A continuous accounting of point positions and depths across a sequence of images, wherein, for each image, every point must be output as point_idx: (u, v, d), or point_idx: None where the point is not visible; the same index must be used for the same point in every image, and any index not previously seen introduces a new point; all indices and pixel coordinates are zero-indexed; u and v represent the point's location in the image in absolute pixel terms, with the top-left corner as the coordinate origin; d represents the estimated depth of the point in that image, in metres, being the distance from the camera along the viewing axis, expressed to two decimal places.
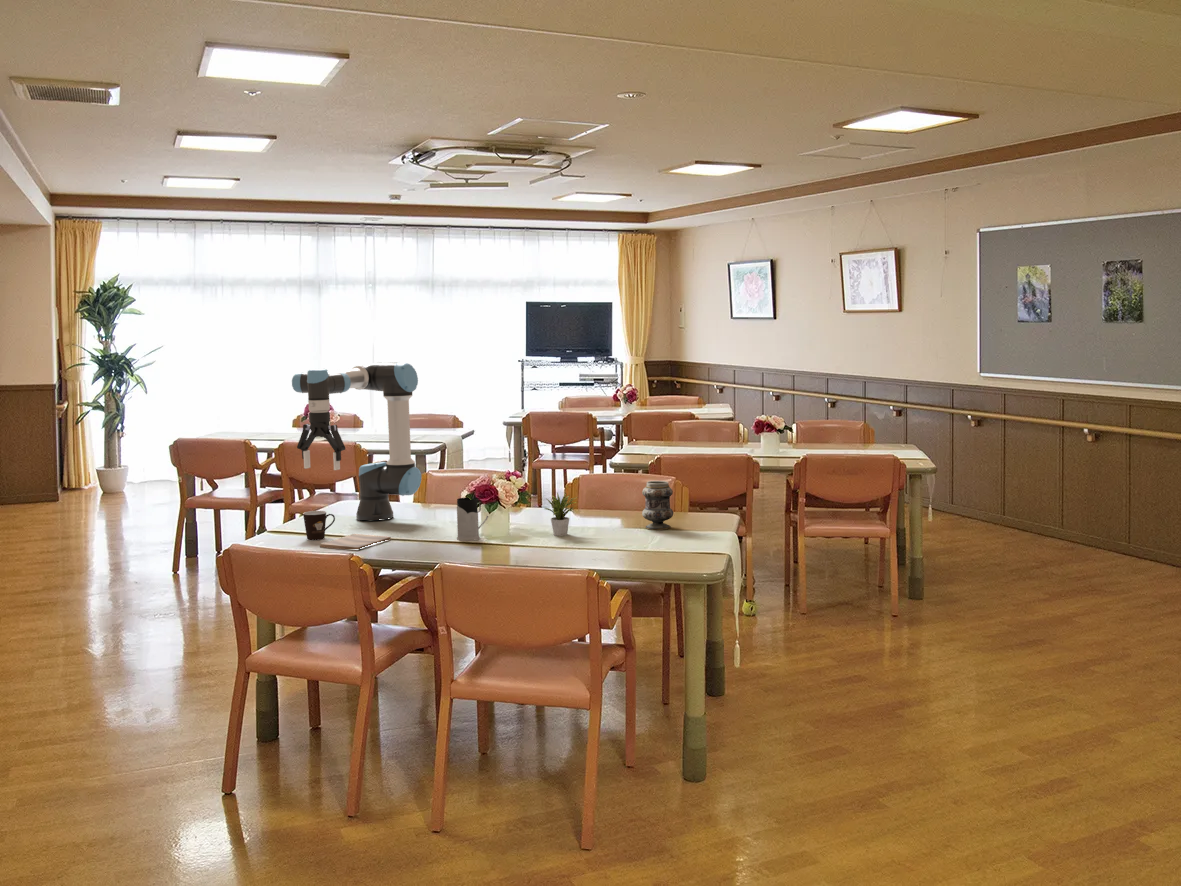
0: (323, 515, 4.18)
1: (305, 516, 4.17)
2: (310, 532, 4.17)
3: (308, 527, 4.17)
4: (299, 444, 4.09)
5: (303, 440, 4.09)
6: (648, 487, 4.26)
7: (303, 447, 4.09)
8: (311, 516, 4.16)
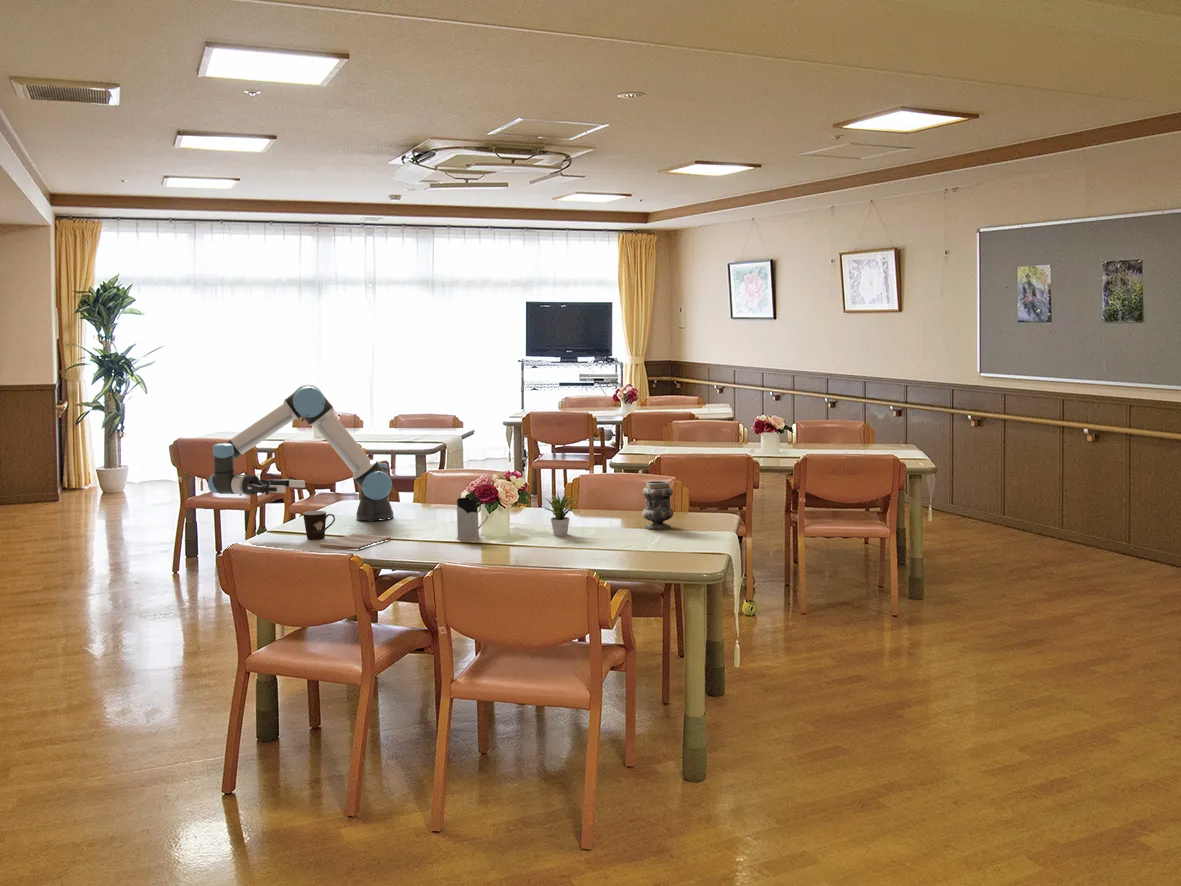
0: (323, 515, 4.18)
1: (305, 516, 4.17)
2: (310, 532, 4.17)
3: (308, 527, 4.17)
4: None
5: None
6: (648, 487, 4.26)
7: None
8: (311, 516, 4.16)
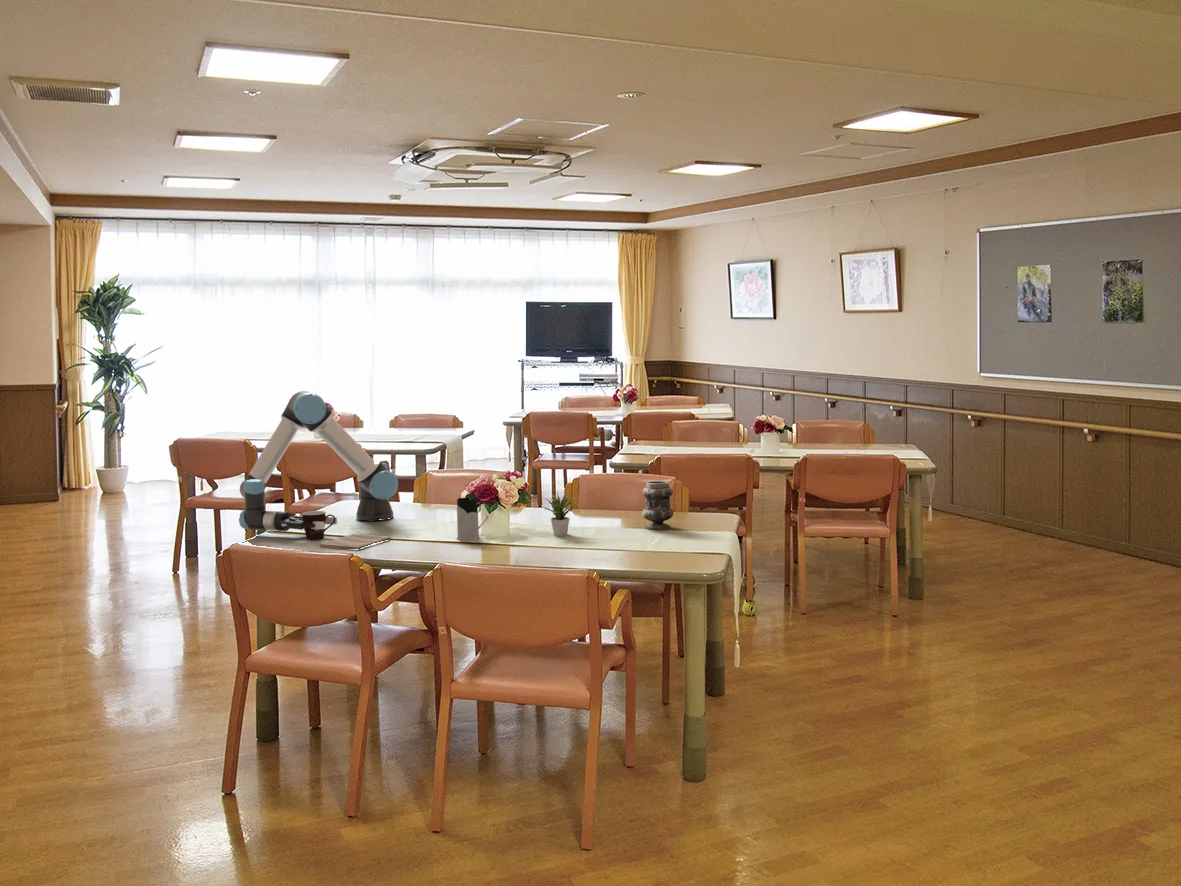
0: (321, 516, 4.17)
1: (303, 516, 4.16)
2: (308, 532, 4.17)
3: None
4: None
5: None
6: (648, 487, 4.26)
7: None
8: (309, 516, 4.15)
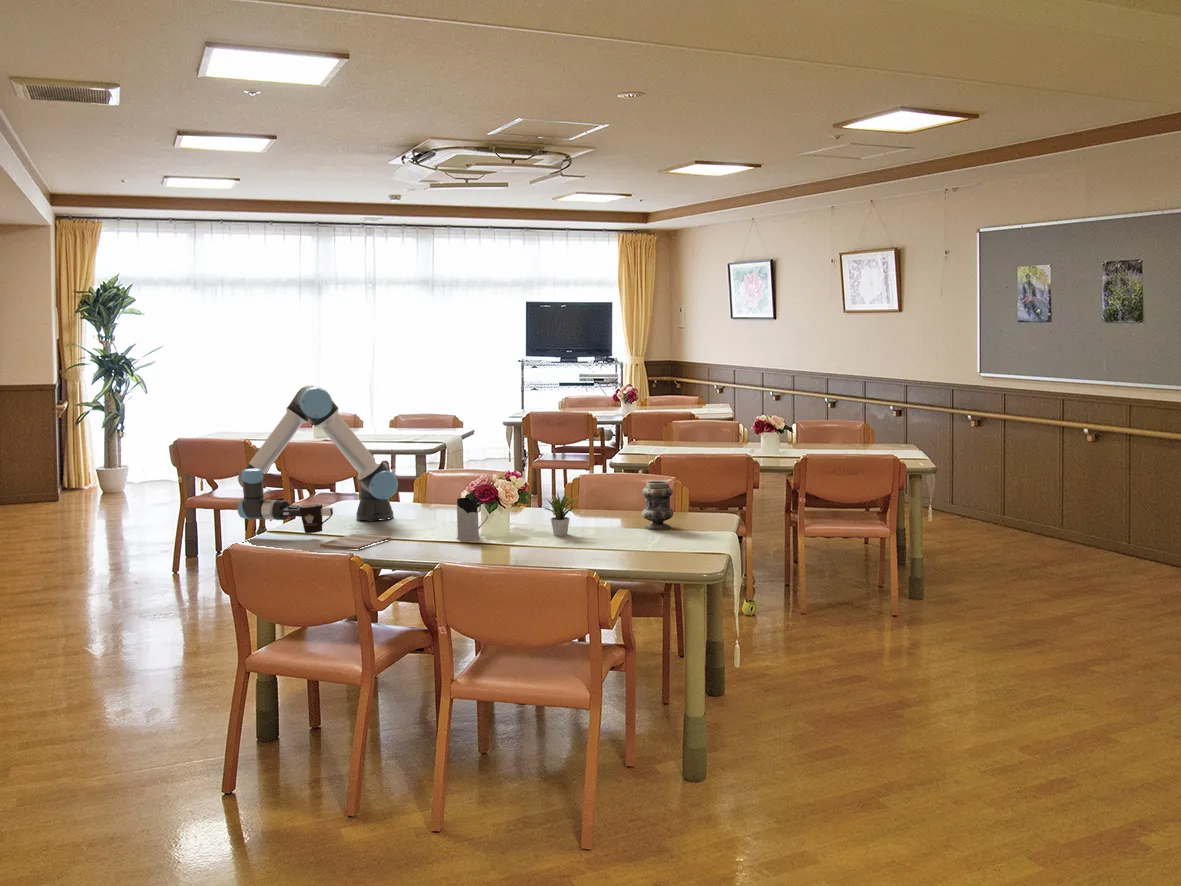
0: (313, 508, 4.15)
1: (299, 508, 4.18)
2: (303, 525, 4.17)
3: (302, 519, 4.18)
4: None
5: None
6: (648, 487, 4.26)
7: None
8: (301, 509, 4.16)
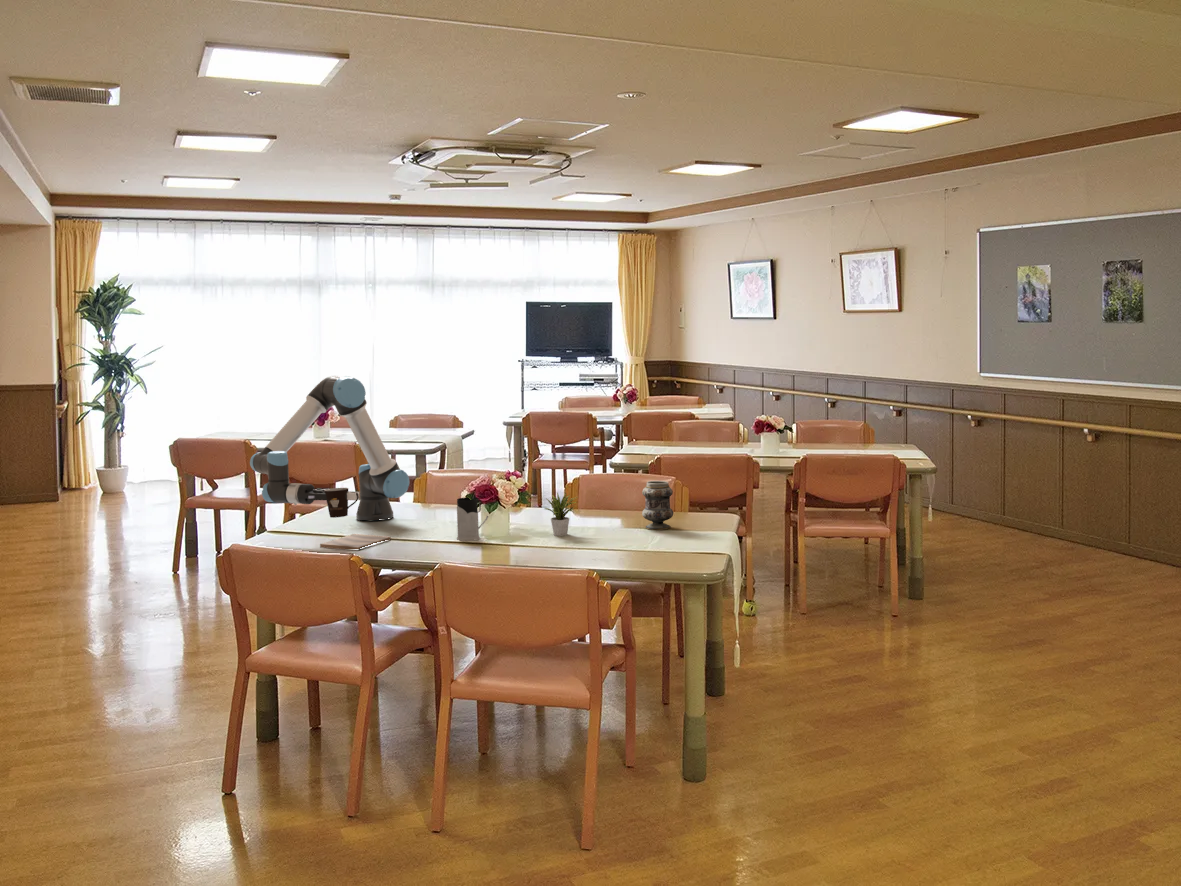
0: (338, 492, 4.05)
1: None
2: (328, 509, 4.07)
3: (327, 503, 4.07)
4: None
5: None
6: (648, 487, 4.26)
7: None
8: (326, 492, 4.05)
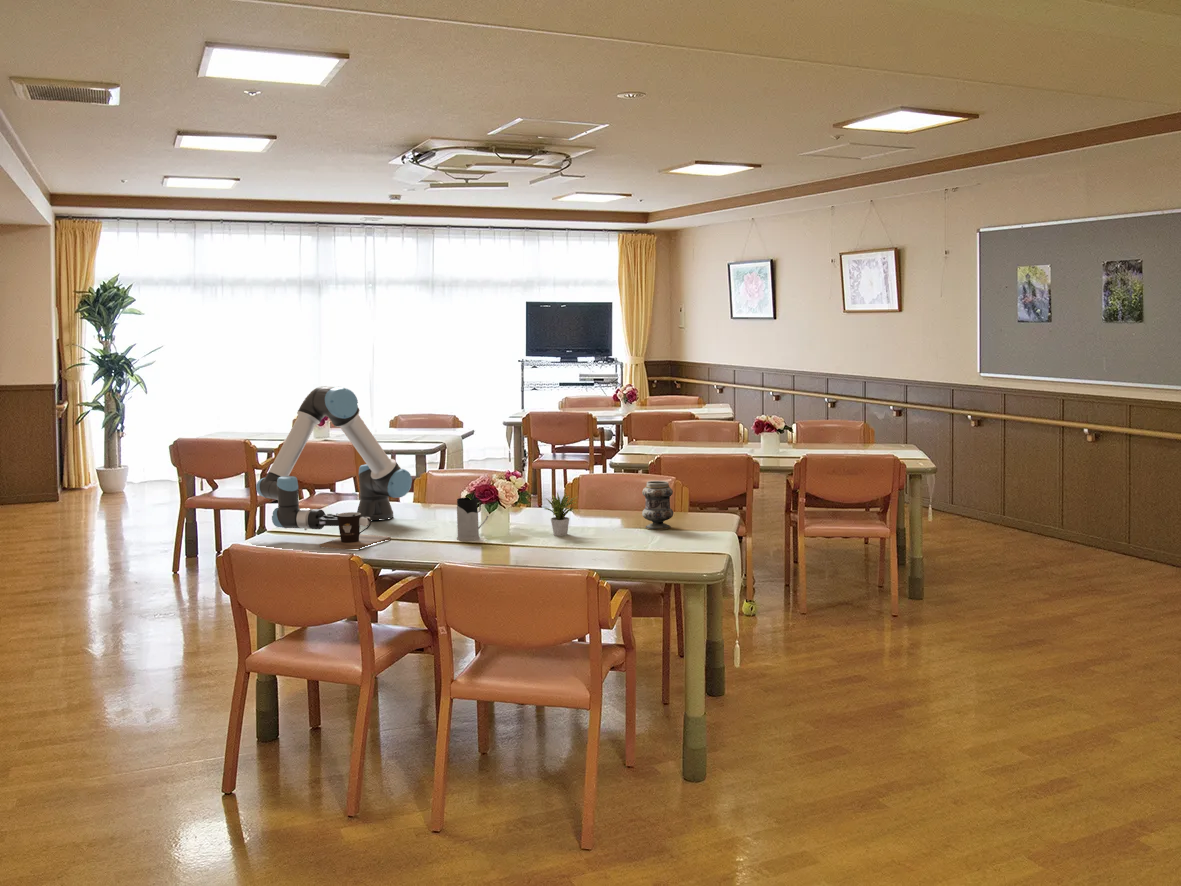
0: (351, 518, 4.04)
1: (337, 517, 4.07)
2: (340, 534, 4.07)
3: (339, 528, 4.07)
4: None
5: None
6: (648, 487, 4.26)
7: None
8: (339, 517, 4.05)
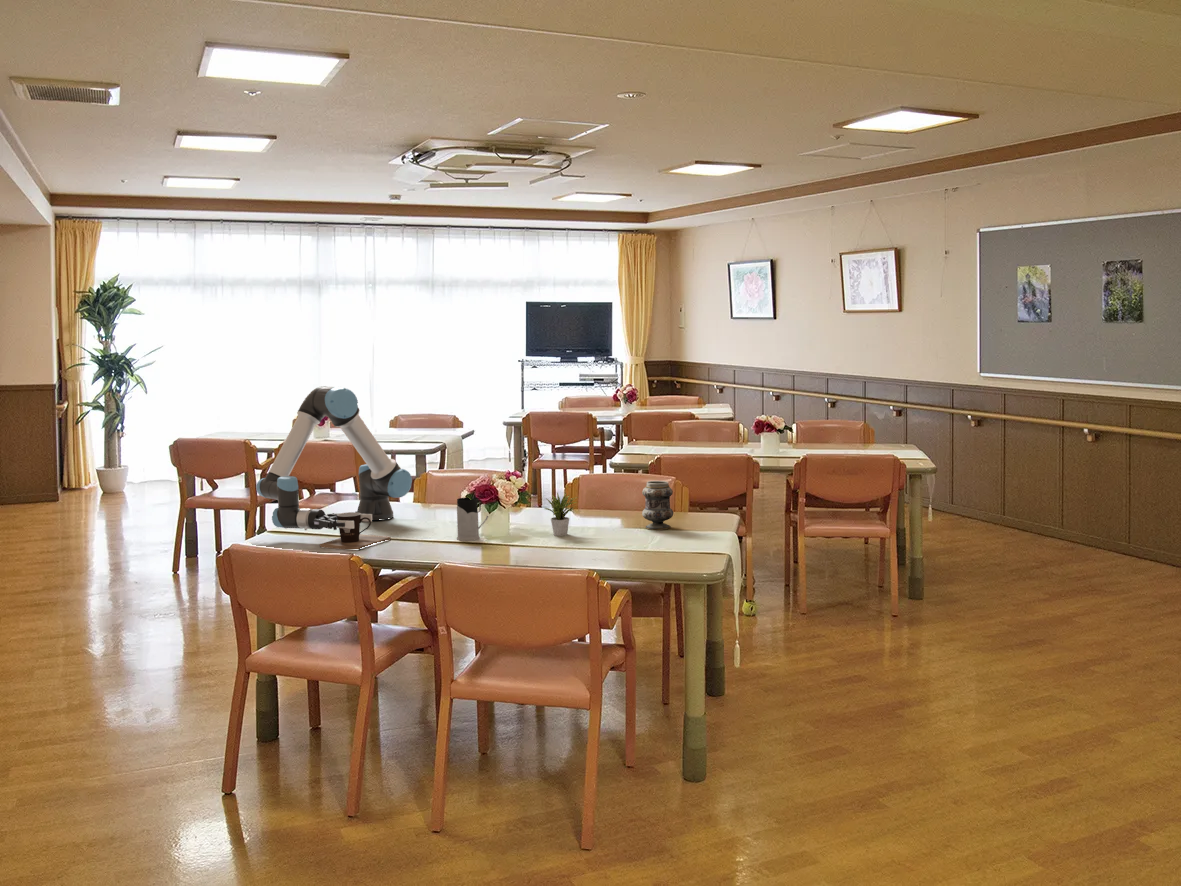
0: (351, 518, 4.04)
1: (337, 517, 4.07)
2: (340, 534, 4.07)
3: (339, 528, 4.07)
4: None
5: None
6: (648, 487, 4.26)
7: None
8: (339, 517, 4.05)
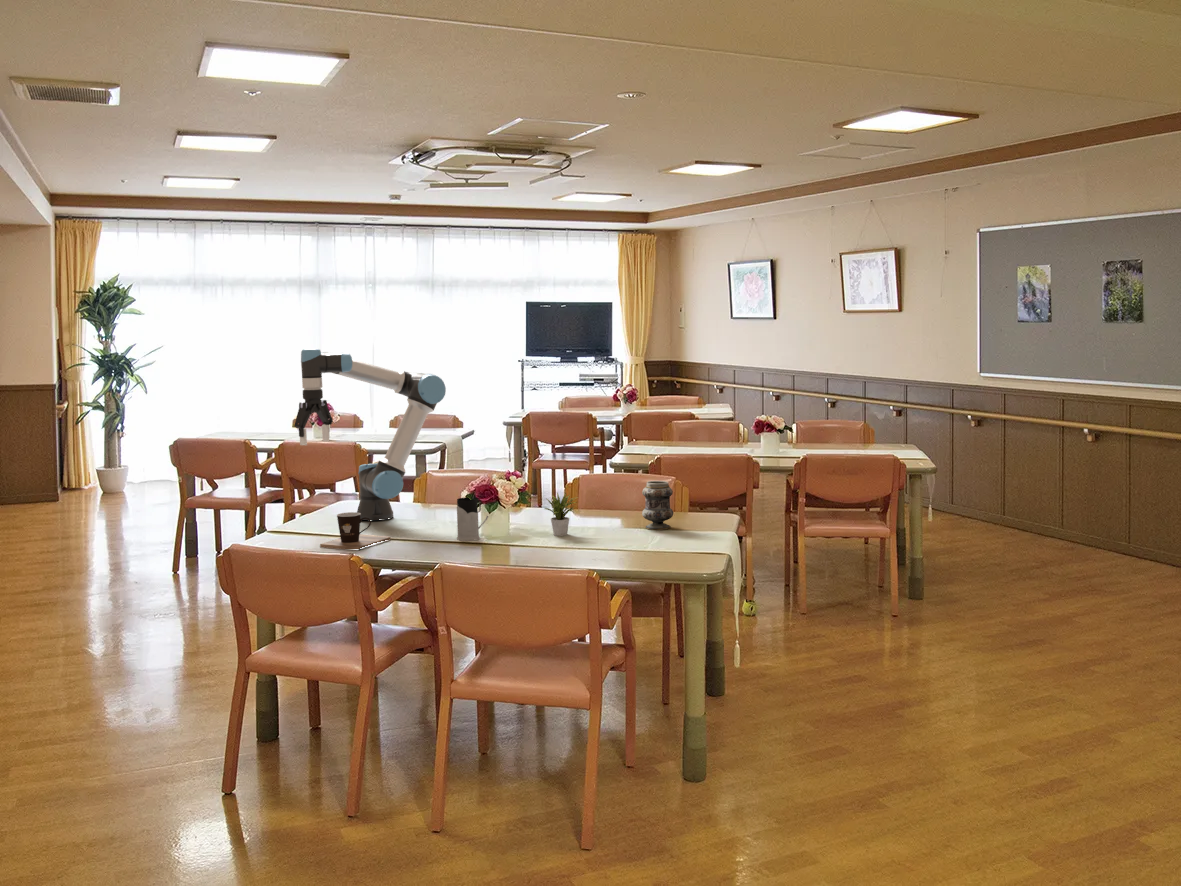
0: (351, 518, 4.04)
1: (337, 517, 4.07)
2: (340, 534, 4.07)
3: (339, 528, 4.07)
4: None
5: (325, 415, 4.38)
6: (648, 487, 4.26)
7: None
8: (339, 517, 4.05)
